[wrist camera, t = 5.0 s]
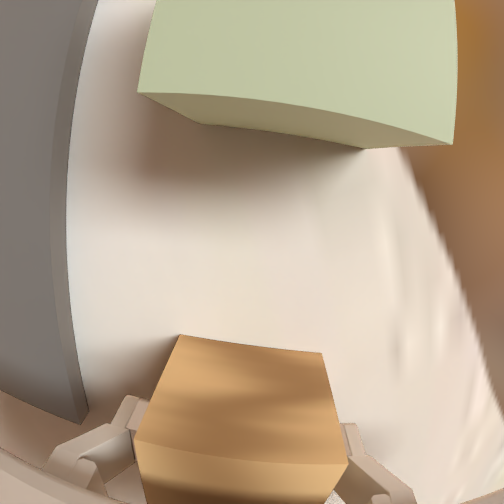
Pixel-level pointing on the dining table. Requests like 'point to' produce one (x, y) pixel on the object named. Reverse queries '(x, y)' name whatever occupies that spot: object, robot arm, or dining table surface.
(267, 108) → the sage block
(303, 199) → the dining table surface
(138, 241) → the dining table surface
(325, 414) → the oak block
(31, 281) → the board
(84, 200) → the dining table surface
